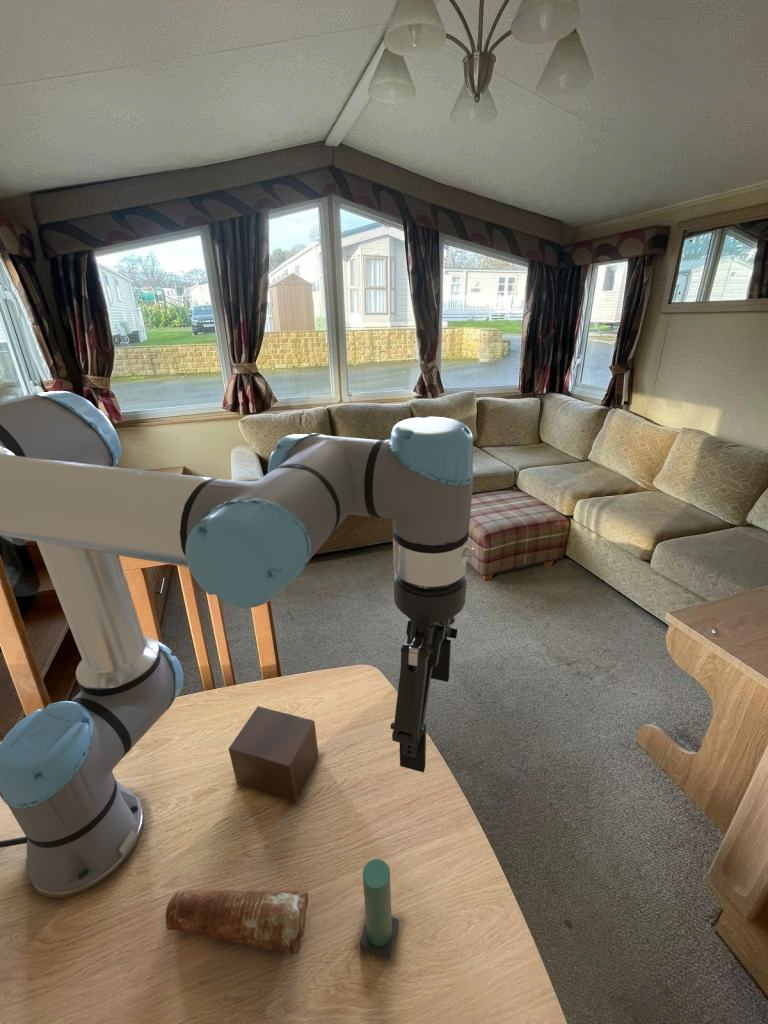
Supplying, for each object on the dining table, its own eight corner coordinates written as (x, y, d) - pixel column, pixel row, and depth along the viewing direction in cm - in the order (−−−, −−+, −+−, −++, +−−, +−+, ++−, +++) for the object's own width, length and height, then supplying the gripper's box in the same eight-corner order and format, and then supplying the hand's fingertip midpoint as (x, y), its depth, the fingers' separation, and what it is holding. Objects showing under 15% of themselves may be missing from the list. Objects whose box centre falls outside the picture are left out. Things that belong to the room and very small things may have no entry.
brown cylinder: (302, 965, 60) (297, 942, 57) (160, 939, 63) (150, 916, 60) (316, 906, 65) (312, 883, 63) (185, 884, 68) (177, 861, 66)
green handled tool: (359, 947, 61) (354, 886, 55) (370, 912, 65) (365, 850, 59) (389, 959, 60) (387, 898, 54) (398, 922, 64) (397, 860, 57)
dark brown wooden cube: (237, 785, 81) (228, 748, 78) (264, 740, 89) (257, 705, 85) (295, 803, 78) (289, 766, 74) (318, 756, 86) (314, 720, 82)
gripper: (440, 661, 38) (434, 827, 47) (482, 521, 59) (473, 654, 68) (351, 643, 40) (362, 805, 49) (423, 514, 61) (421, 644, 71)
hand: (426, 718), depth 59 cm, fingers open, 13 cm apart
